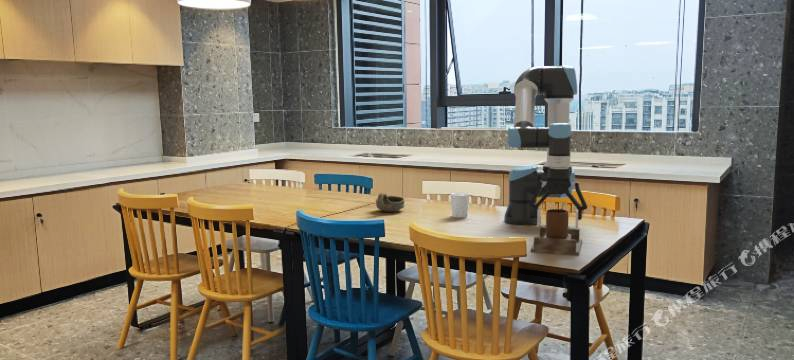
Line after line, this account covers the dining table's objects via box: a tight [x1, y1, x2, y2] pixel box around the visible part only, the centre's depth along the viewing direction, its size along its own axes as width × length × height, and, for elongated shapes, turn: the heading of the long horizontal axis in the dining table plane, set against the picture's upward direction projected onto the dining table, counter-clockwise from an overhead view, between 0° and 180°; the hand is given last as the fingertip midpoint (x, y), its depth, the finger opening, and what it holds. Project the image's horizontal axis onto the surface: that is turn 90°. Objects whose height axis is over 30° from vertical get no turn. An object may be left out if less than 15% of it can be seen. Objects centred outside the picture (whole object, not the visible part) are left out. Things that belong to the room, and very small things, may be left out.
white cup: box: [450, 192, 470, 219], centre depth 280 cm, size 8×8×10 cm
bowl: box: [374, 192, 405, 213], centre depth 292 cm, size 14×18×10 cm
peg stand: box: [530, 225, 583, 256], centre depth 225 cm, size 16×19×5 cm
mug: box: [545, 208, 570, 239], centre depth 224 cm, size 12×8×9 cm, turn 152°
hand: (557, 227), depth 224 cm, fingers open, 12 cm apart
